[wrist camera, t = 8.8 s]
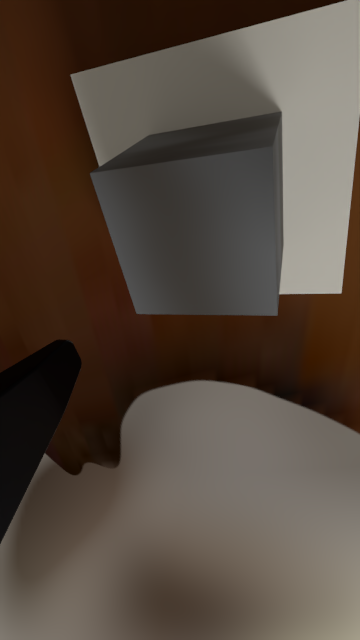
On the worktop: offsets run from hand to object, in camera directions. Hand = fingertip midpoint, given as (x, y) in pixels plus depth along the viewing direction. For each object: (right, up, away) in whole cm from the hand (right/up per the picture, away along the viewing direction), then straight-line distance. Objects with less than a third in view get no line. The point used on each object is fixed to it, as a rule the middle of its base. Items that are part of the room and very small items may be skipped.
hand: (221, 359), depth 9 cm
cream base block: (+2, +9, +8) cm, 12 cm away
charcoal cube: (+1, +6, +5) cm, 8 cm away
